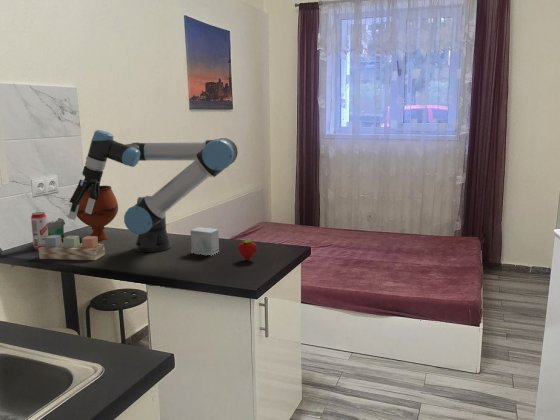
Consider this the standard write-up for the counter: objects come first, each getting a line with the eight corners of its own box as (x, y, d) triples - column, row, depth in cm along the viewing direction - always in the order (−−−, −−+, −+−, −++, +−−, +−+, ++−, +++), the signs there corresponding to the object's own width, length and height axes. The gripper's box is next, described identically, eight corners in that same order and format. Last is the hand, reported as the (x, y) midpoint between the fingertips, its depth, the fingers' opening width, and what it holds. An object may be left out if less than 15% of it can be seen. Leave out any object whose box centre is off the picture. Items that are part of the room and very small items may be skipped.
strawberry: (257, 262, 202) (257, 238, 200) (238, 262, 201) (238, 238, 199) (256, 258, 207) (256, 234, 205) (238, 258, 206) (237, 235, 205)
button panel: (104, 254, 213) (104, 243, 212) (95, 260, 204) (94, 249, 203) (51, 252, 215) (50, 242, 215) (39, 258, 207) (38, 248, 206)
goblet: (128, 236, 243) (125, 185, 238) (95, 245, 227) (91, 191, 222) (102, 232, 253) (98, 183, 248) (68, 240, 237) (64, 187, 232)
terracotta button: (98, 245, 210) (97, 236, 210) (93, 248, 206) (92, 239, 205) (87, 245, 211) (86, 236, 210) (82, 248, 206) (81, 238, 205)
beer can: (30, 249, 220) (27, 214, 217) (40, 246, 226) (37, 211, 223) (42, 250, 218) (39, 214, 215) (52, 247, 224) (49, 212, 221)
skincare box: (190, 253, 214) (189, 229, 212) (199, 250, 220) (198, 226, 218) (211, 256, 210) (210, 232, 208) (219, 252, 216) (219, 228, 214)
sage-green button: (79, 245, 211) (79, 235, 210) (74, 248, 207) (73, 238, 206) (69, 244, 211) (68, 235, 211) (63, 247, 207) (63, 238, 206)
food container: (55, 245, 227) (53, 224, 225) (43, 244, 228) (41, 223, 226) (72, 239, 239) (70, 218, 237) (60, 238, 240) (58, 218, 238)
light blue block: (61, 244, 212) (61, 235, 211) (56, 247, 207) (55, 238, 207) (51, 244, 212) (50, 235, 212) (45, 247, 208) (44, 237, 207)
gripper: (99, 162, 216) (86, 207, 220) (69, 167, 192) (55, 217, 196) (115, 168, 216) (102, 213, 220) (87, 174, 192) (72, 224, 196)
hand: (80, 215), depth 208 cm, fingers open, 13 cm apart
